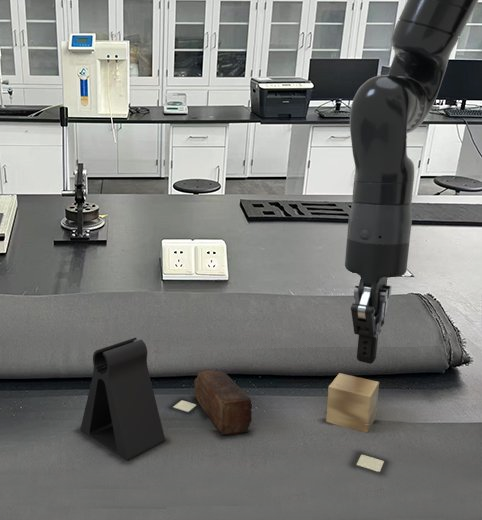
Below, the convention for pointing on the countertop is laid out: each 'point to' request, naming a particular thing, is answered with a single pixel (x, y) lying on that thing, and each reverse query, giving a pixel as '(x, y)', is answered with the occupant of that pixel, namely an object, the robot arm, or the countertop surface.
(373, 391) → the birch block
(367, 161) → the robot arm
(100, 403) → the phone stand
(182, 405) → the line marks
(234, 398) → the brick
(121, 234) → the countertop surface
